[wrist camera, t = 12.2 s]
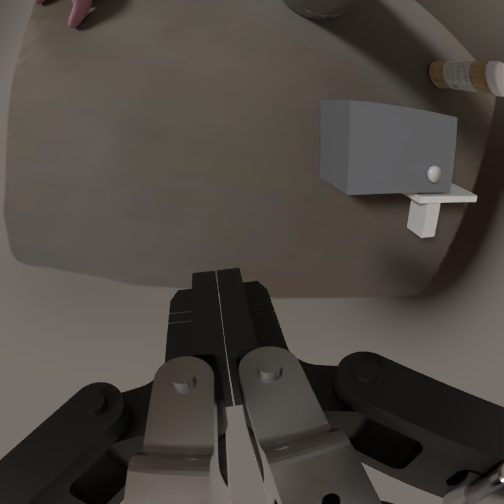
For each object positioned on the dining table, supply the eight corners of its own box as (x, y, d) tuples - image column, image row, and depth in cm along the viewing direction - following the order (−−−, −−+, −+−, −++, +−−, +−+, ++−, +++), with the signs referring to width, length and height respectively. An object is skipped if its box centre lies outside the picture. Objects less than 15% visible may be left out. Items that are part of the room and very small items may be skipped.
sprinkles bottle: (450, 72, 31) (516, 78, 19) (442, 94, 33) (510, 105, 21) (431, 54, 30) (499, 54, 18) (423, 77, 31) (493, 81, 20)
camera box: (319, 99, 32) (352, 100, 24) (424, 111, 34) (466, 119, 26) (319, 177, 37) (349, 198, 29) (420, 176, 39) (458, 194, 31)
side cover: (386, 178, 38) (420, 196, 31) (443, 179, 39) (477, 195, 32) (382, 217, 41) (413, 240, 34) (438, 213, 42) (469, 233, 35)
